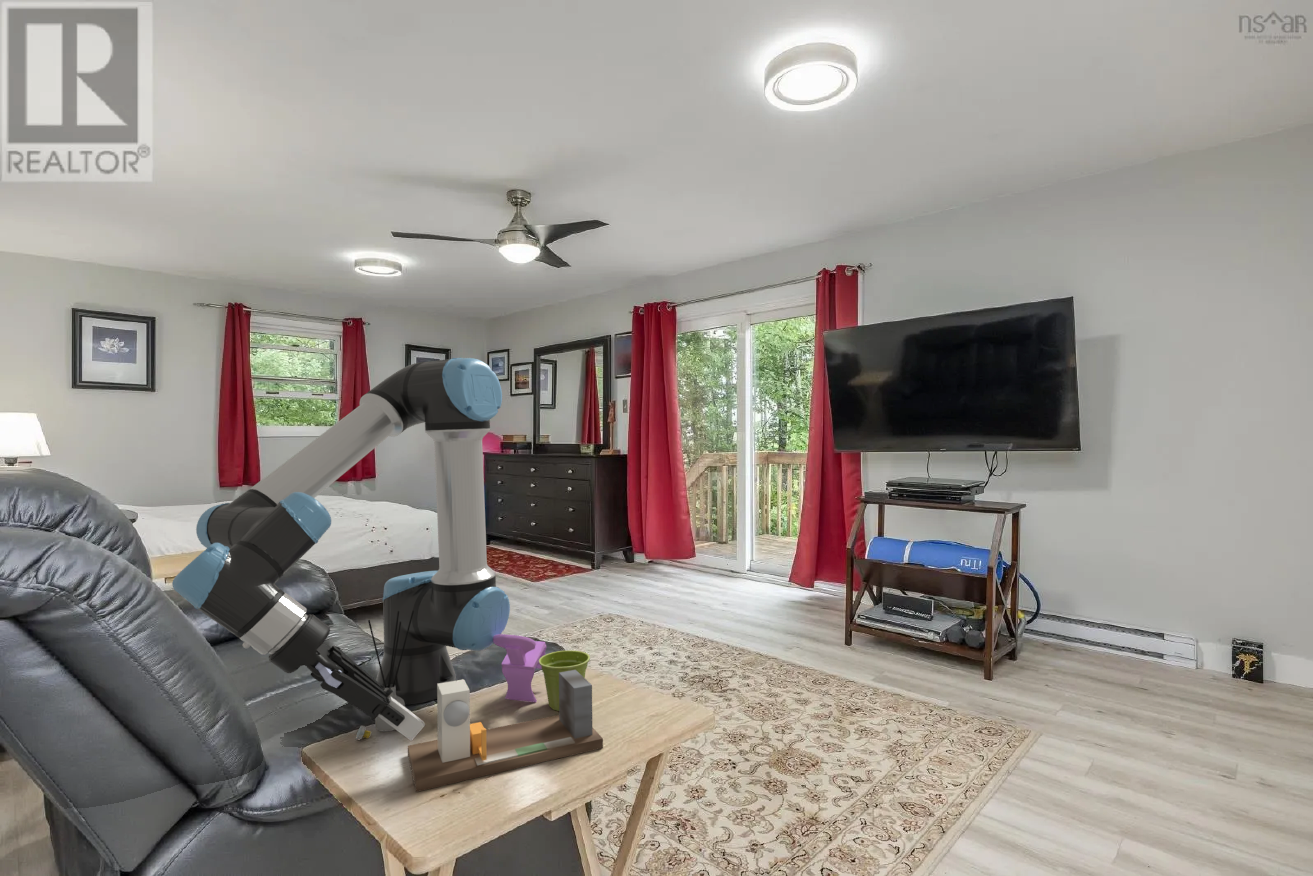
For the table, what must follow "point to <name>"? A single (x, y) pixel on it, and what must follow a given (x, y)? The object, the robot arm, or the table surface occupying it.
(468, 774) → the gauge board
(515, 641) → the toy chair
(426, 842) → the table surface
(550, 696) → the plant pot
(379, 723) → the reed diffuser
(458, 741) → the block
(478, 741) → the orange l-shaped piece
